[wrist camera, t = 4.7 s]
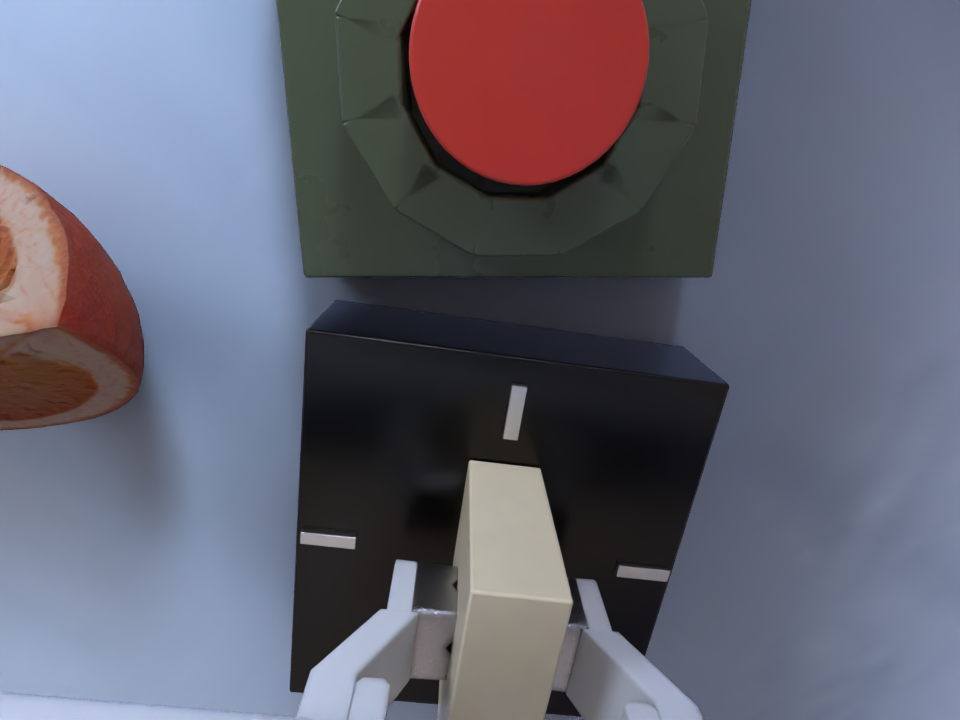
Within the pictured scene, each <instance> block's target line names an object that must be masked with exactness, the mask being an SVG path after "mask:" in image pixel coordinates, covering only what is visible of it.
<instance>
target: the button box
mask: <svg viewBox="0 0 960 720" xmlns="http://www.w3.org/2000/svg"><path fill="white" fill-rule="evenodd" d="M276 1H277V11H278V21H279V31H280V41H281V51H282V62H283V72H284V82H285V92H286V102H287V112H288V122H289V132H290V142H291V152H292V162H293V172H294V182H295V192H296V202H297V212H298V222H299V232H300V242H301V252H302V262H303V272H304V275H305V277H361V278H708V277H711V276H712V273H713V266H714V259H715V252H716V245H717V238H718V231H719V224H720V217H721V210H722V203H723V196H724V189H725V182H726V175H727V168H728V161H729V154H730V147H731V140H732V133H733V126H734V119H735V112H736V105H737V98H738V90H739V83H740V76H741V69H742V62H743V55H744V48H745V41H746V34H747V27H748V20H749V13H750V6H751V0H642V2H643V5H644V8H645V13H646V18H647V23H648V32H649V63H648V70H647V76H646V81H645V85H644V88H643V92H642V95H641V98H640V100H639V103H638V105H637V108H636V110H635V112H634V114H633V116H632V118H631V120H630V122H629V124H628V125H627V127H626V128H625V130H624V131H623V133H622V134H621V135H620V137H619V138H618V140H617V141H616V142H615V143H614V144H613V145H612V146H611V147H610V148H609V150H608V151H607V152H606V153H604V154H603V155H602V156H601V157H600V158H599V159H598V160H596V161H595V162H594V163H592V164H591V165H589V166H588V167H586V168H585V169H583V170H582V171H580V172H578V173H576V174H574V175H572V176H570V177H567V178H564V179H561V180H559V181H556V182H551V183H547V184H542V185H529V186H523V185H510V184H506V183H501V182H496V181H494V180H491V179H488V178H485V177H483V176H481V175H479V174H477V173H475V172H473V171H471V170H469V169H468V168H467V167H465V166H464V165H462V164H461V163H460V162H458V161H457V160H456V159H455V158H454V157H452V156H451V155H450V154H449V153H448V152H447V151H446V150H445V149H444V148H443V146H442V145H441V144H440V143H439V142H438V140H437V139H436V138H435V136H434V135H433V133H432V132H431V130H430V129H429V127H428V126H427V124H426V122H425V120H424V118H423V116H422V113H421V111H420V109H419V106H418V103H417V100H416V98H415V95H414V91H413V86H412V81H411V77H410V66H409V39H410V32H411V25H412V20H413V17H414V13H415V9H416V5H417V3H418V0H276Z"/></svg>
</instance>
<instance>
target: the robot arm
mask: <svg viewBox="0 0 960 720" xmlns="http://www.w3.org/2000/svg"><path fill="white" fill-rule="evenodd" d="M416 571H417V572H416ZM567 579H568V583H569V587H570V591H571V595H572V599H573V605H572V609H571V613H570V618H569V622H568V626H567V630H566V634H565V638H564V642H563V646H562V650H561V654H560V658H559V662H558V666H557V670H556V674H555V678H554V682H553V686H552V690H553V691H562V692H566V695H567V696H568V698H569V699H570V701H571V702H572V703H573V705H574V706H575V708H576V709H577V710H578V712H579V713H580V715H581V716H582V717H583V719H584V720H703V718H702V715H701V713H700V710H699V708H698V706H697V705H696V704H695V703H694V702H693V701H692V700H691V699H690V698H689V697H688V696H687V695H685V694H684V693H683V692H682V691H681V690H680V689H679V688H678V687H677V686H676V685H675V684H674V683H673V682H671V681H670V680H669V679H668V678H667V677H666V676H665V675H664V674H663V673H662V672H661V671H660V670H659V669H657V668H656V667H655V666H654V665H653V664H652V663H651V662H650V661H649V660H648V659H647V658H646V657H645V656H643V655H642V654H641V653H640V652H639V651H638V650H637V649H636V648H635V647H634V646H633V645H632V644H631V643H629V642H628V641H627V640H626V639H625V638H624V637H623V636H622V635H621V634H620V633H619V632H613V631H612V629H611V626H610V622H609V619H608V616H607V613H606V610H605V607H604V604H603V601H602V598H601V595H600V591H599V588H598V585H597V582H596V581H595V580H591V579H579V578H574V579H572V578H567ZM457 582H458V567H456V566H448V565H440V564H433V563H425V562H418V565H417V562H415V561H406V560H398V559H397V560H396V562H395V566H394V572H393V578H392V583H391V589H390V594H389V600H388V606H387V609H380V610H379V611H378V612H377V613H376V614H374V615H373V616H372V617H371V618H370V619H369V620H368V621H366V622H365V623H364V624H363V625H362V626H361V627H360V628H358V629H357V630H356V631H355V632H354V633H353V634H352V635H350V636H349V637H348V638H347V639H346V640H345V641H344V642H342V643H341V644H340V645H339V646H338V647H337V648H336V649H334V650H333V651H332V652H331V653H330V654H329V655H328V656H326V657H325V658H324V659H323V660H322V661H321V662H320V663H318V664H317V665H316V666H315V667H314V668H313V669H312V670H311V671H310V674H309V677H308V680H307V683H306V687H305V690H304V693H303V696H302V699H301V703H300V706H299V709H298V712H297V715H296V717H290V716H278V715H266V714H254V713H242V712H230V711H218V710H207V709H195V708H183V707H171V706H159V705H147V704H135V703H123V702H111V701H99V700H87V699H75V698H63V697H51V696H39V695H28V694H16V693H4V692H0V720H386V712H387V709H388V707H389V706H390V705H391V703H392V702H393V701H394V700H395V698H396V697H397V696H398V694H399V693H400V692H401V690H402V689H403V688H404V687H405V685H406V684H407V683H408V681H409V679H410V678H417V679H434V680H447V675H448V669H449V663H450V656H451V643H452V642H453V638H454V632H455V626H456V620H457V604H458V591H457V590H456V588H457Z"/></svg>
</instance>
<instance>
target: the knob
mask: <svg viewBox="0 0 960 720" xmlns="http://www.w3.org/2000/svg"><path fill="white" fill-rule="evenodd" d="M453 566H456V567H458V582H457V588H456V590H457V591H458V604H457V620H456V626H455V632H454V638H453V642H452V643H451V656H450V663H449V669H448V675H447V680H440V681H439V700H438V720H544V718H545V714H546V710H547V706H548V702H549V698H550V694H551V690H552V686H553V682H554V678H555V674H556V670H557V666H558V662H559V658H560V654H561V650H562V646H563V642H564V638H565V634H566V630H567V626H568V622H569V618H570V613H571V609H572V605H573V599H572V595H571V591H570V587H569V583H568V579H567V575H566V570H565V566H564V562H563V558H562V554H561V550H560V546H559V542H558V538H557V534H556V530H555V526H554V522H553V518H552V514H551V509H550V505H549V501H548V497H547V493H546V489H545V485H544V481H543V477H542V473H541V469H540V468H533V467H525V466H516V465H508V464H499V463H490V462H482V461H473V460H470V461H469V463H468V470H467V476H466V483H465V489H464V495H463V502H462V508H461V515H460V521H459V527H458V534H457V540H456V547H455V553H454V560H453Z"/></svg>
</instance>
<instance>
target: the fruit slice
mask: <svg viewBox="0 0 960 720" xmlns="http://www.w3.org/2000/svg"><path fill="white" fill-rule="evenodd" d="M143 368H144V341H143V335H142V330H141V325H140V319H139V314H138V311H137V309H136V306H135V303H134V301H133V298H132V296H131V294H130V293H129V291H128V289H127V287H126V285H125V283H124V280H123V278H122V275H121V273H120V271H119V270H118V268H117V267H116V265H115V264H114V263H113V261H112V260H111V258H110V257H109V256H108V254H107V253H106V251H105V250H104V249H103V247H102V246H101V245H100V243H99V242H98V241H97V240H96V239H95V238H94V236H93V235H92V234H91V233H90V231H89V230H88V229H87V228H86V227H85V226H84V225H83V224H82V223H81V222H80V221H79V219H78V218H77V217H76V216H75V215H74V214H73V213H71V212H70V211H69V210H68V209H66V208H65V207H64V206H63V205H61V204H60V203H59V202H57V201H56V200H55V199H54V198H52V197H51V196H50V195H49V194H47V193H46V192H45V191H43V190H42V189H41V188H40V187H38V186H37V185H36V184H34V183H32V182H31V181H29V180H27V179H26V178H24V177H22V176H21V175H19V174H17V173H15V172H13V171H12V170H10V169H8V168H6V167H3V166H0V430H15V429H30V428H39V427H47V426H53V425H60V424H67V423H73V422H78V421H83V420H88V419H93V418H96V417H99V416H102V415H105V414H108V413H110V412H112V411H114V410H116V409H118V408H120V407H121V406H123V405H125V404H126V403H127V402H129V401H130V400H131V399H132V398H133V397H134V396H135V394H136V393H137V392H138V390H139V387H140V383H141V379H142V373H143Z"/></svg>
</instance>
